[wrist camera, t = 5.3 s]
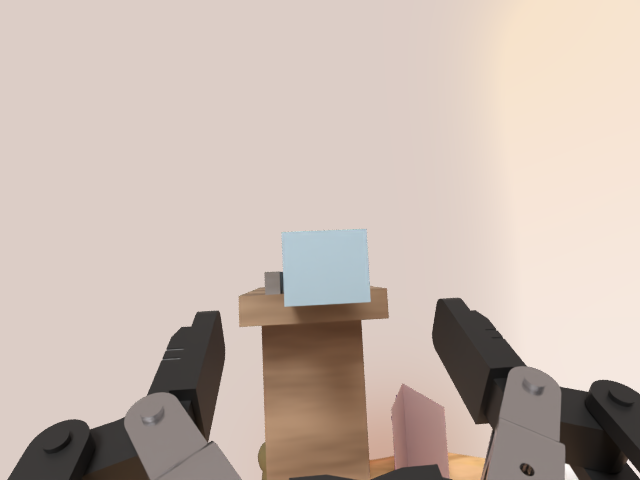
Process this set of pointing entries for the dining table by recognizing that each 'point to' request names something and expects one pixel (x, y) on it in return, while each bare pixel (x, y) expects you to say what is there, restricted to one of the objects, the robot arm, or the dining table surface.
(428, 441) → the greeting card
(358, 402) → the dispenser stand
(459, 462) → the dining table surface
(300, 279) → the light blue block
